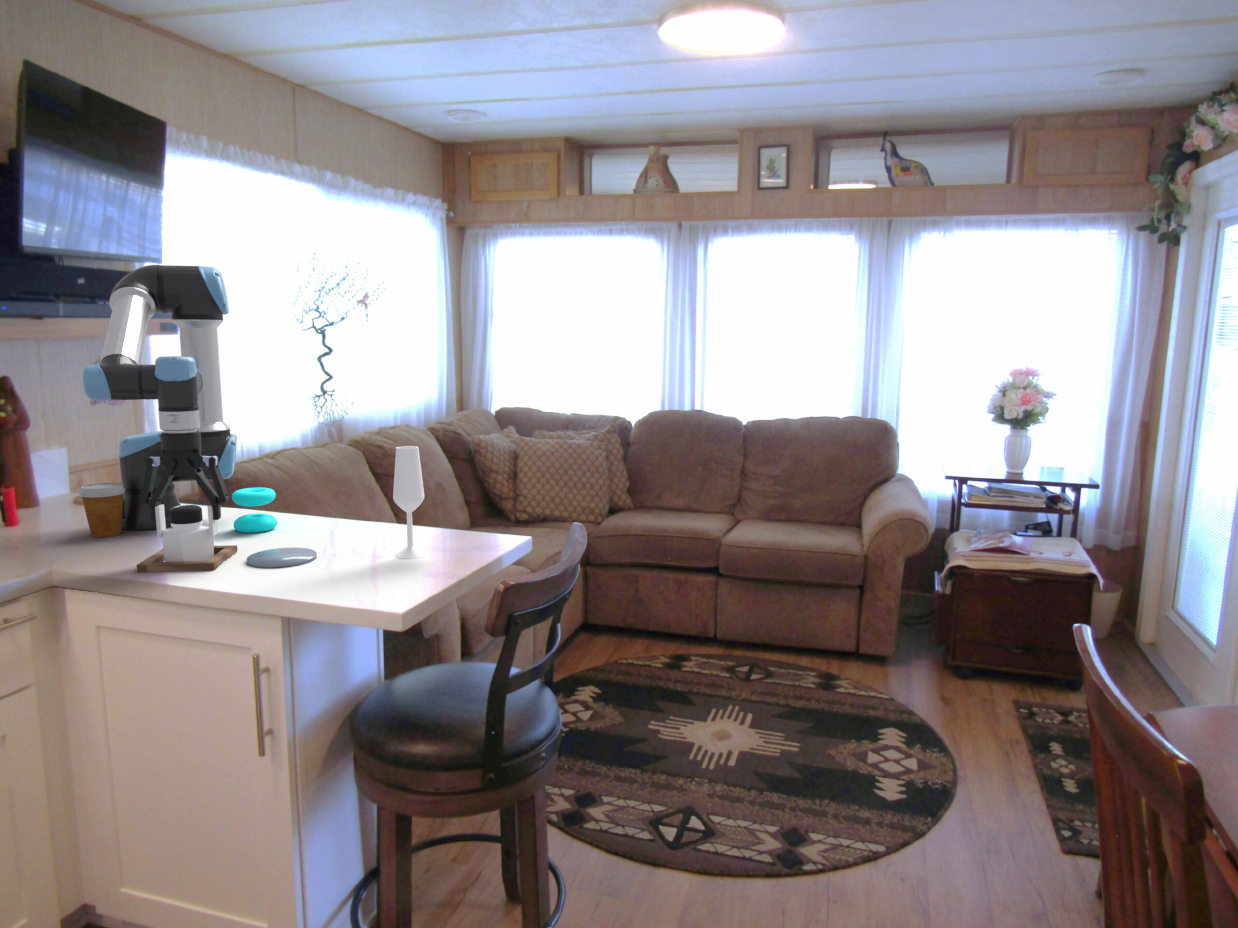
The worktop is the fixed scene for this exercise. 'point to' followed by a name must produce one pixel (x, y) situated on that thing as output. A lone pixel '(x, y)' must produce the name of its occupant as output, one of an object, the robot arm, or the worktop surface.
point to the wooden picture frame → (158, 565)
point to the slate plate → (281, 557)
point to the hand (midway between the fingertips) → (187, 535)
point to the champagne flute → (408, 492)
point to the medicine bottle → (187, 536)
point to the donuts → (257, 520)
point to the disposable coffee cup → (103, 508)
